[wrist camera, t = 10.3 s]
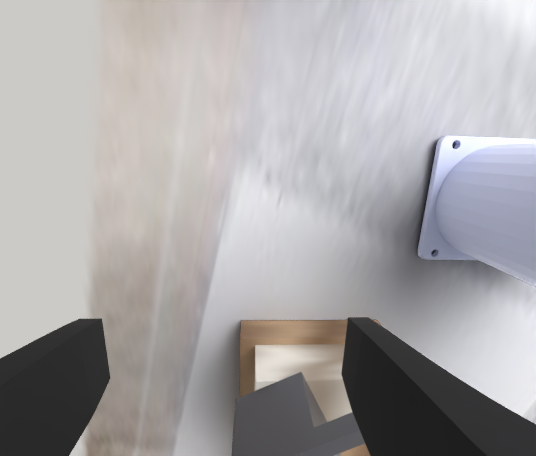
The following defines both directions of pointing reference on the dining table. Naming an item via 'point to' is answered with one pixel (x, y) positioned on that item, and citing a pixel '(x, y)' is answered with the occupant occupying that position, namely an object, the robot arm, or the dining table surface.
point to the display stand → (298, 361)
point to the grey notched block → (289, 423)
